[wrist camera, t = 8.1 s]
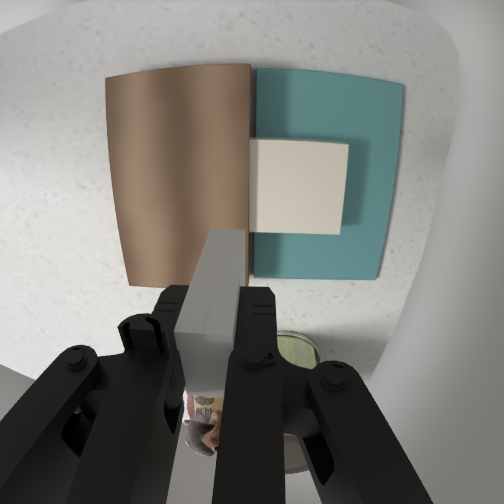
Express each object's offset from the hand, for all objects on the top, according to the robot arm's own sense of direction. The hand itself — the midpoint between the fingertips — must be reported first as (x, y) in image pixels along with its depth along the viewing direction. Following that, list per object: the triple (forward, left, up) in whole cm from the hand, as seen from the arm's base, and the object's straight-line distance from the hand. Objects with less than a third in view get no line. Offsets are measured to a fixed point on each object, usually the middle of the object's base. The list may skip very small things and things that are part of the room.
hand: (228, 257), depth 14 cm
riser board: (-5, -3, -15) cm, 16 cm away
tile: (+4, +2, -15) cm, 15 cm away
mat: (+6, +4, -15) cm, 17 cm away
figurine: (+13, -25, -15) cm, 32 cm away
